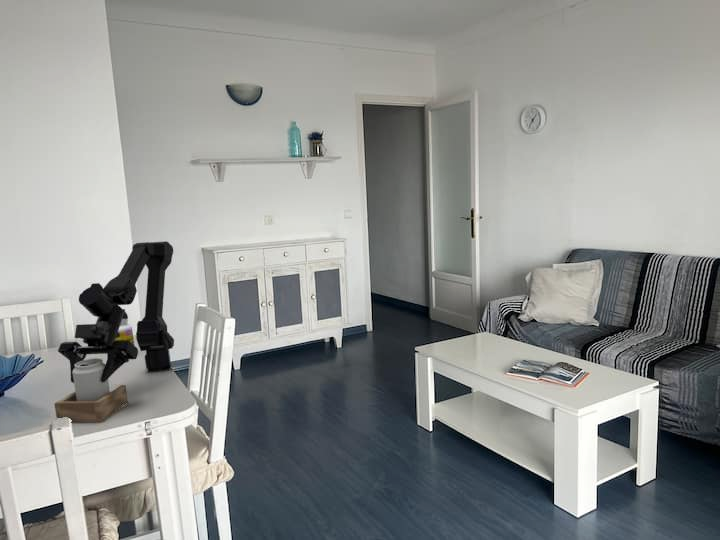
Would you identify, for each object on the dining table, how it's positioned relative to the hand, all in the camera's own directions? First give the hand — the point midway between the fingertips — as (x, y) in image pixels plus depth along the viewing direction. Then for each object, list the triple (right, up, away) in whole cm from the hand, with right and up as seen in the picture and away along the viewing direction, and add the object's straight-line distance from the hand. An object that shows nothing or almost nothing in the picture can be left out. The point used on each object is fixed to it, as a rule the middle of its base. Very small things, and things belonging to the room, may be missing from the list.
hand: (87, 382), depth 133 cm
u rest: (+1, -8, +2) cm, 8 cm away
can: (+1, -7, +3) cm, 8 cm away
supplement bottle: (-13, -2, +51) cm, 53 cm away
